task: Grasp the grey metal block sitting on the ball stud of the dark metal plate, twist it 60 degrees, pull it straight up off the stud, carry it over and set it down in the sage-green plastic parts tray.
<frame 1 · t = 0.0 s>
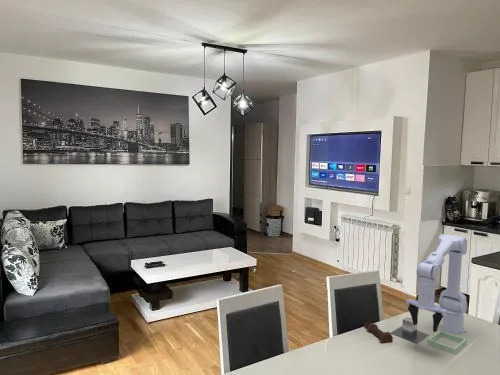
hand: (425, 327, 143), 10 cm above the table, fingers open, 7 cm apart
grey metal block: (409, 334, 157), point 1 cm above the table, touching stud plate
bolt: (376, 337, 156), on the table
parts tray: (446, 346, 148), on the table
stud plate: (409, 336, 157), on the table
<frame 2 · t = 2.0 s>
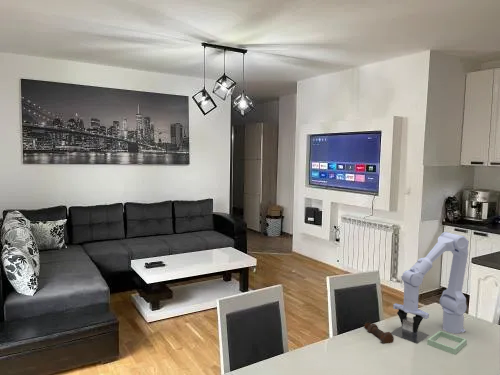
hand: (409, 329, 157), 3 cm above the table, fingers closed on grey metal block, 4 cm apart
grey metal block: (409, 334, 157), point 1 cm above the table, touching gripper, stud plate
everything else where it was.
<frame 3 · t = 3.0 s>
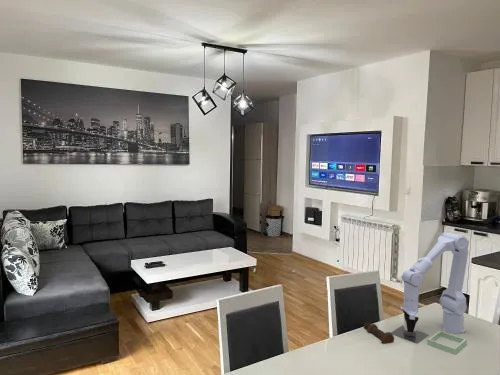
hand: (409, 329, 157), 3 cm above the table, fingers closed on grey metal block, 4 cm apart
grey metal block: (409, 333, 157), point 1 cm above the table, touching gripper
everything else where it was.
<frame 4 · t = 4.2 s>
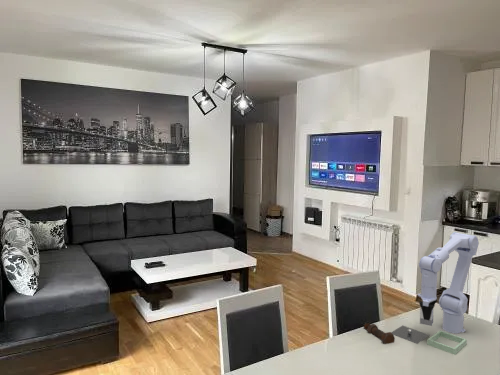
hand: (427, 317, 152), 10 cm above the table, fingers closed on grey metal block, 4 cm apart
grey metal block: (426, 322, 153), point 8 cm above the table, touching gripper
everything else where it was.
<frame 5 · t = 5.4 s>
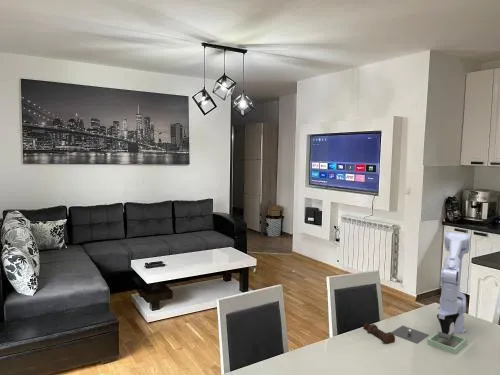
hand: (447, 331, 148), 6 cm above the table, fingers closed on grey metal block, 4 cm apart
grey metal block: (446, 337, 148), point 4 cm above the table, touching gripper
everything else where it was.
when the fingers open (4 cm above the table, at t = 6.3 s): grey metal block drops 1 cm, resting on parts tray.
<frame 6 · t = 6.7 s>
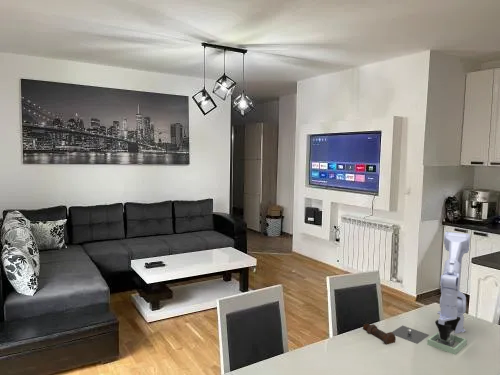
hand: (447, 336, 148), 4 cm above the table, fingers open, 7 cm apart
grey metal block: (445, 344, 149), point 1 cm above the table, touching parts tray
everything else where it was.
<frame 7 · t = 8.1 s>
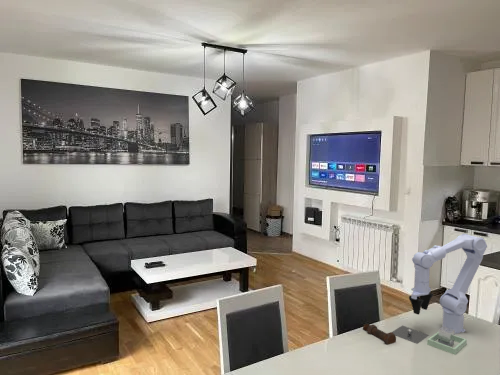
hand: (420, 311, 158), 10 cm above the table, fingers open, 7 cm apart
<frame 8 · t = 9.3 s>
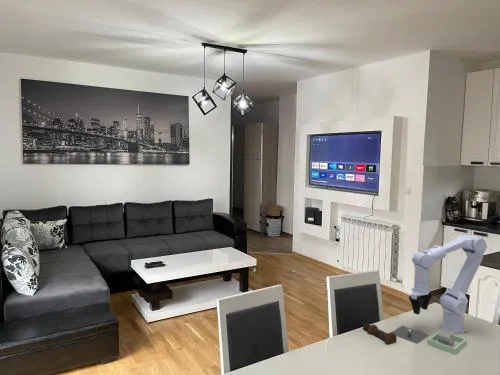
hand: (420, 311, 158), 10 cm above the table, fingers open, 7 cm apart
at the end: grey metal block inside the target area on the parts tray (0.4 cm from its centre), point 0.6 cm above the parts tray's base; grey metal block touching parts tray; the gripper is holding nothing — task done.
